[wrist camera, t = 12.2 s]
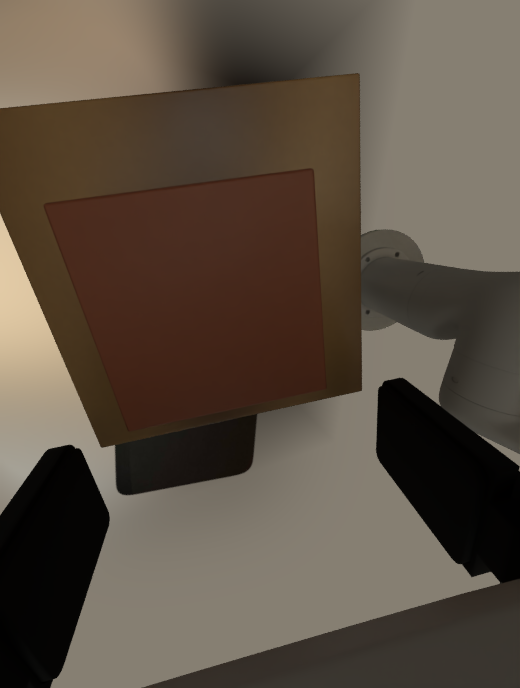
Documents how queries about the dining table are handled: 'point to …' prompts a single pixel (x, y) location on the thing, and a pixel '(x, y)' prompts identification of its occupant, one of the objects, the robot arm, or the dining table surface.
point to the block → (199, 292)
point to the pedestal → (180, 169)
